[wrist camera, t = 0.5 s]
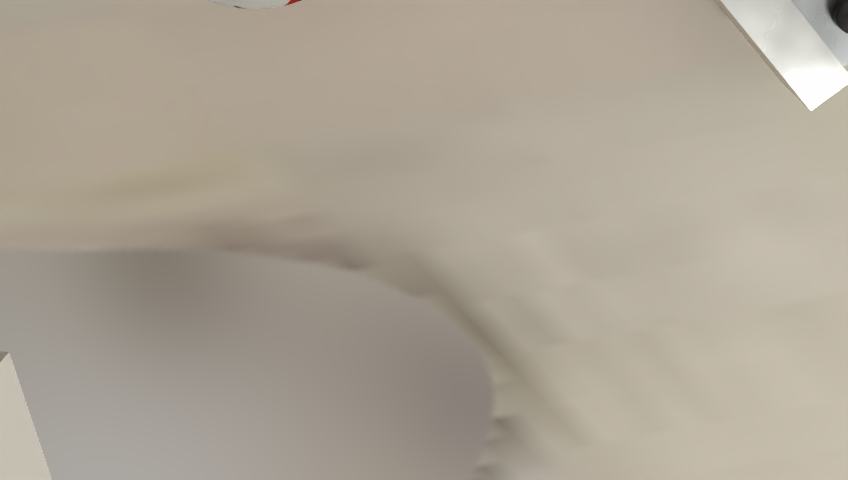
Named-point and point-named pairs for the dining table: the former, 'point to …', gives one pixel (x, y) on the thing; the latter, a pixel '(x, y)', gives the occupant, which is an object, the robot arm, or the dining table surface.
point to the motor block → (798, 42)
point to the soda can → (255, 3)
